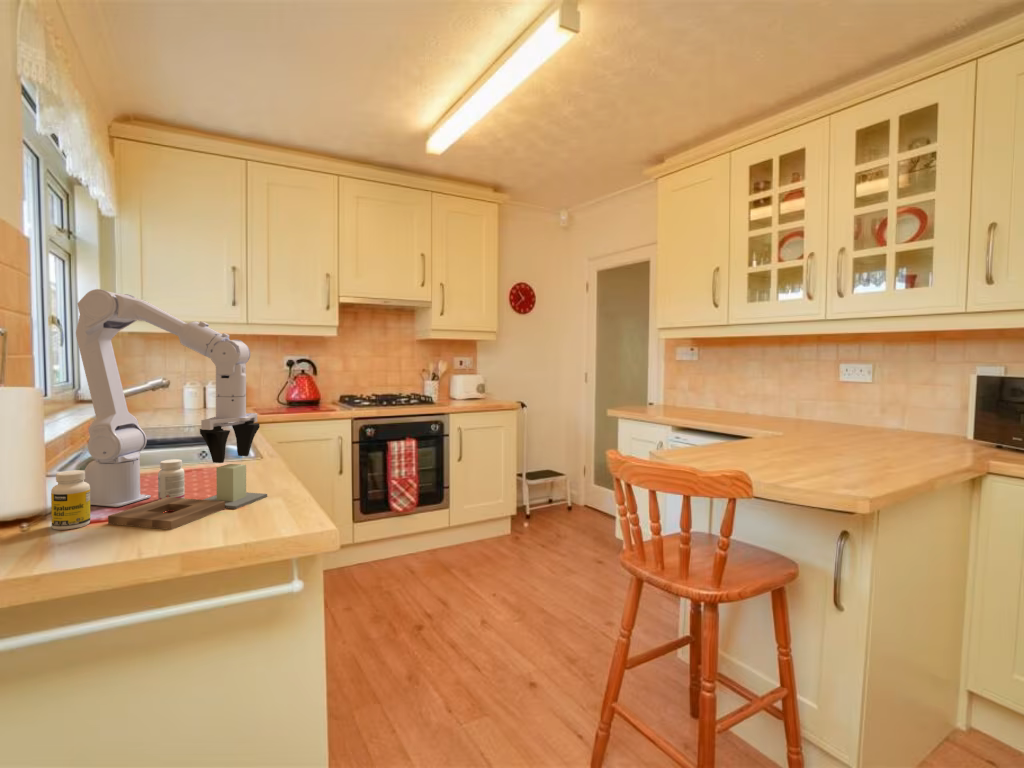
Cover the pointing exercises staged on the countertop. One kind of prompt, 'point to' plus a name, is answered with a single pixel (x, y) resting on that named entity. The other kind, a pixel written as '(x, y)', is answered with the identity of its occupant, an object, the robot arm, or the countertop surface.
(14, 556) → the countertop surface
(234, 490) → the sage block
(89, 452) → the robot arm
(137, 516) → the walnut holder
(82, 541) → the countertop surface
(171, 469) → the pill bottle
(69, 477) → the supplement bottle
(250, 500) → the charcoal mat
